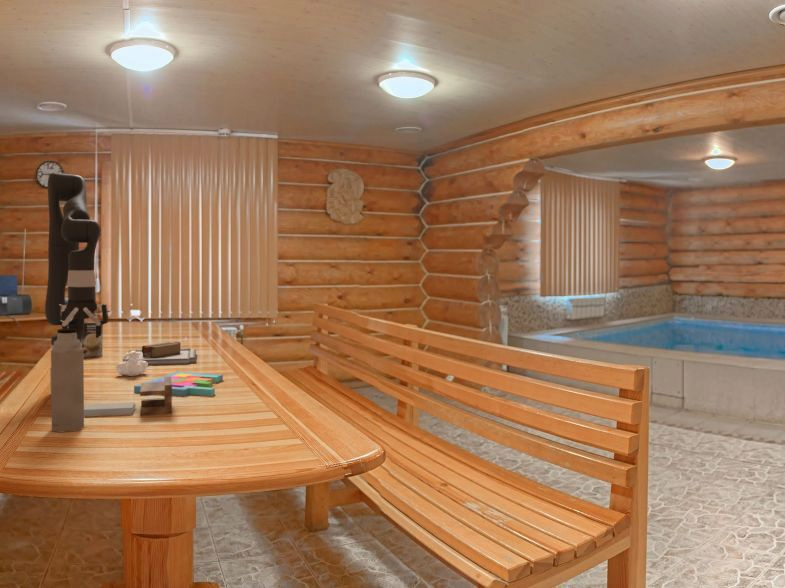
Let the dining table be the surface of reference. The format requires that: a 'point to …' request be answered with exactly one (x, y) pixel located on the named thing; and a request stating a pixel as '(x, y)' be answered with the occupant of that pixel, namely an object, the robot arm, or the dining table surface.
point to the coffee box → (91, 340)
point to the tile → (109, 409)
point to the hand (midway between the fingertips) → (82, 338)
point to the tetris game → (189, 383)
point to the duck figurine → (132, 365)
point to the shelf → (156, 389)
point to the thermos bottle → (67, 382)
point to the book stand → (165, 354)
